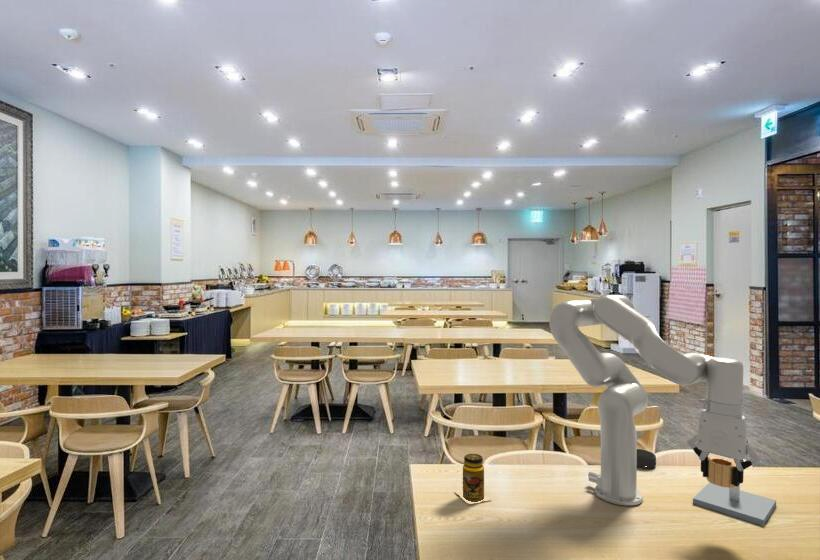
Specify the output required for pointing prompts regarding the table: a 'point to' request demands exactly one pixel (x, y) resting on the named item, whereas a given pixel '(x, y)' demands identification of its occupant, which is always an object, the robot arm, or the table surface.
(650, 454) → the smart speaker
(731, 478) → the ring
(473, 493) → the condiment
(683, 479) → the table surface
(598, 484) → the robot arm
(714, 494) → the peg stand
